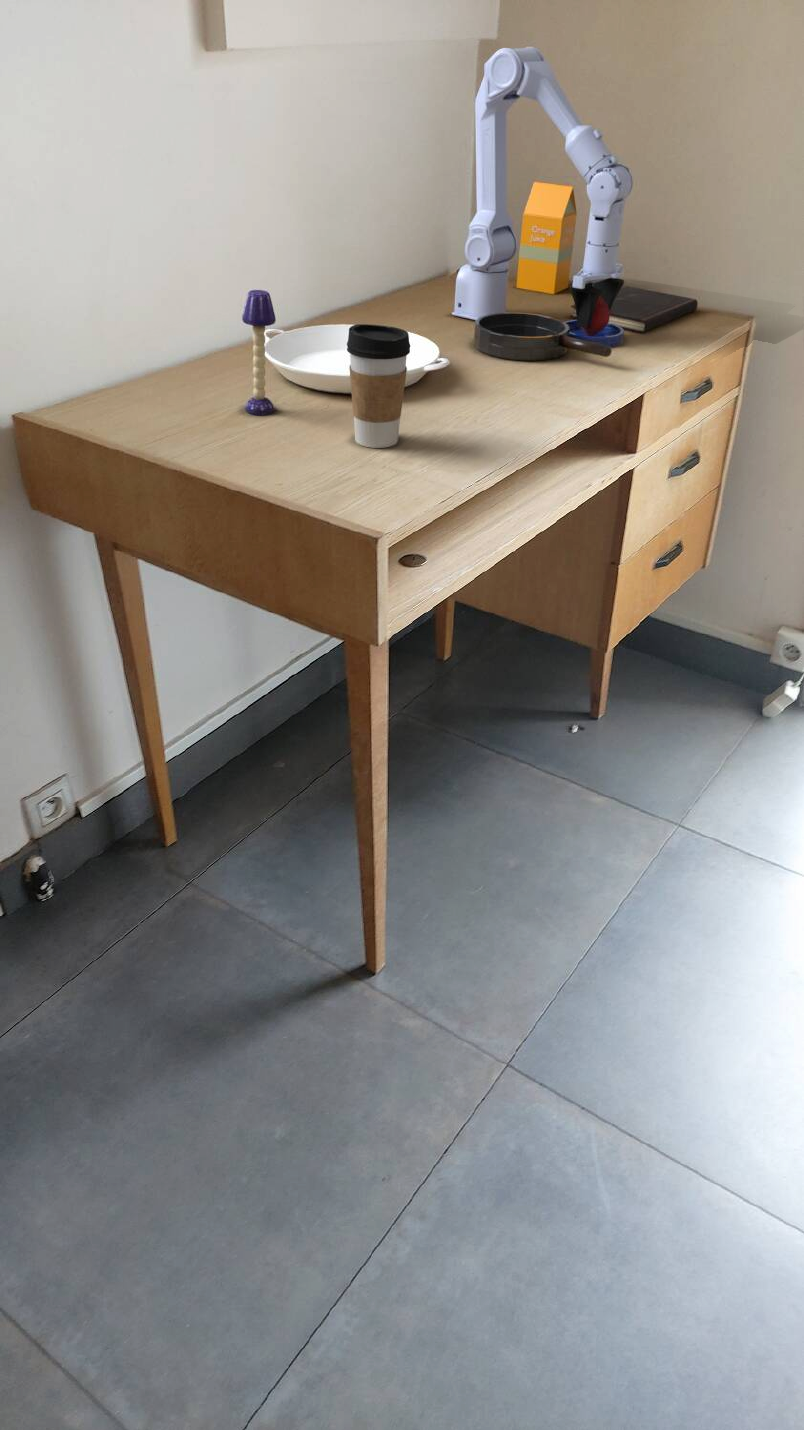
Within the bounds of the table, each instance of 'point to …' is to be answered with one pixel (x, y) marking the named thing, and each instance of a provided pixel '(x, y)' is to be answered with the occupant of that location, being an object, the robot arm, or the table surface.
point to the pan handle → (585, 346)
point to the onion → (598, 318)
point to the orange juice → (547, 238)
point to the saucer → (598, 334)
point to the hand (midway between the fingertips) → (591, 323)
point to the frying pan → (520, 336)
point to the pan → (336, 357)
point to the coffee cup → (377, 382)
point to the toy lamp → (259, 347)
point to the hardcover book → (646, 308)
